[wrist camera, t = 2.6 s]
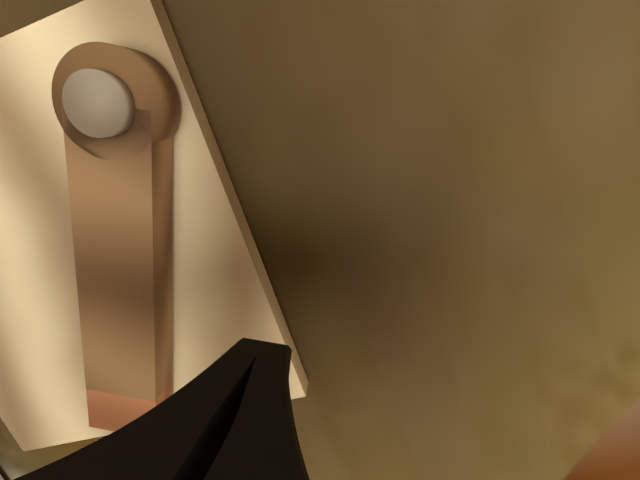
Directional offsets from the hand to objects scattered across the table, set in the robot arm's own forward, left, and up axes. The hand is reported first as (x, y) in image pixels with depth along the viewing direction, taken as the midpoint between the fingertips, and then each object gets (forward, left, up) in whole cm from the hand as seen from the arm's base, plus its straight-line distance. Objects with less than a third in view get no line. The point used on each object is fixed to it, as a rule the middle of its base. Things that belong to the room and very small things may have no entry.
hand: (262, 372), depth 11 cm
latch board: (-9, +3, -7) cm, 12 cm away
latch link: (-6, +3, -6) cm, 9 cm away
